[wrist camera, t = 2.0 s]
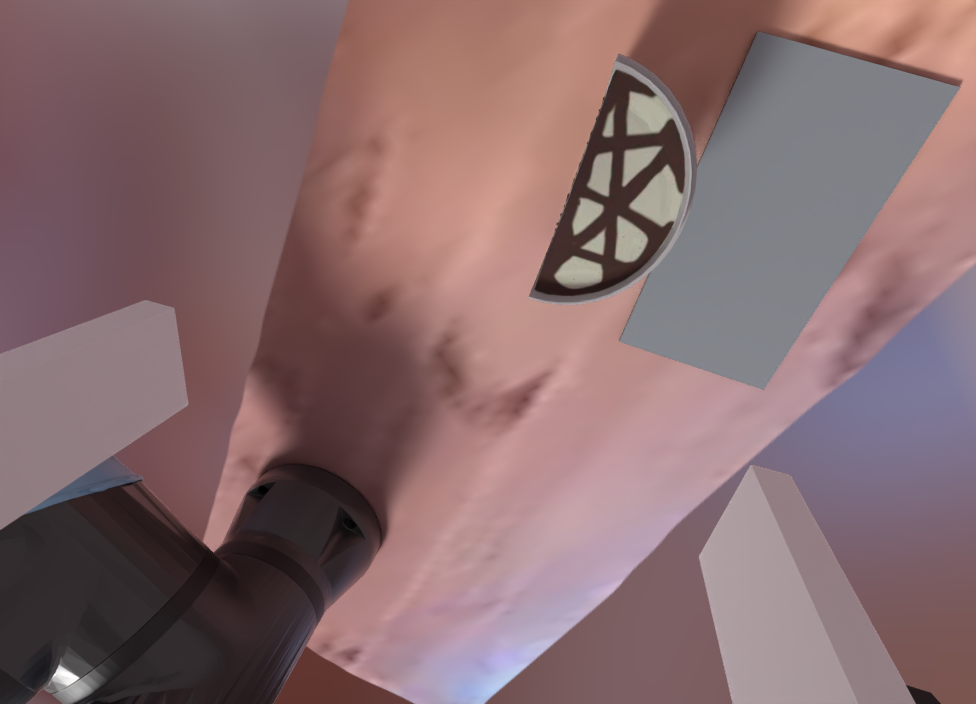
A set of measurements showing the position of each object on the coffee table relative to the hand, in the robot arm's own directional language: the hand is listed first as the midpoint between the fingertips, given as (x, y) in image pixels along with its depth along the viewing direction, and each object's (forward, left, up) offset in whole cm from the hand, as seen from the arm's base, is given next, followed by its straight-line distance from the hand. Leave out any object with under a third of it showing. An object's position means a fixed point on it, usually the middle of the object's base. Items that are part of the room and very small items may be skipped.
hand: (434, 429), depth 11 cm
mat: (+13, +4, -25) cm, 29 cm away
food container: (+4, +4, -26) cm, 26 cm away
